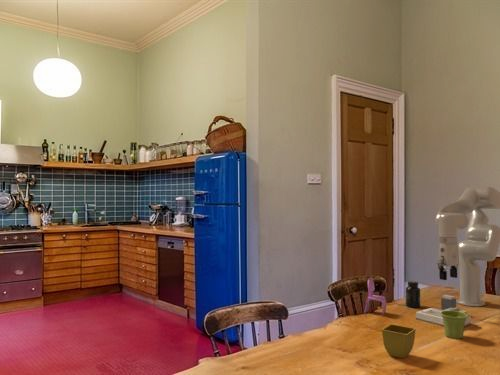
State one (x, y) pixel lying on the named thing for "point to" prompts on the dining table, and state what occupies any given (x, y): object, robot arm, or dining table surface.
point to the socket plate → (435, 316)
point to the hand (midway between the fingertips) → (448, 278)
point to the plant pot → (454, 323)
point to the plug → (448, 302)
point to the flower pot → (398, 340)
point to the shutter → (455, 310)
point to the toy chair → (374, 297)
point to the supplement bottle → (412, 295)
